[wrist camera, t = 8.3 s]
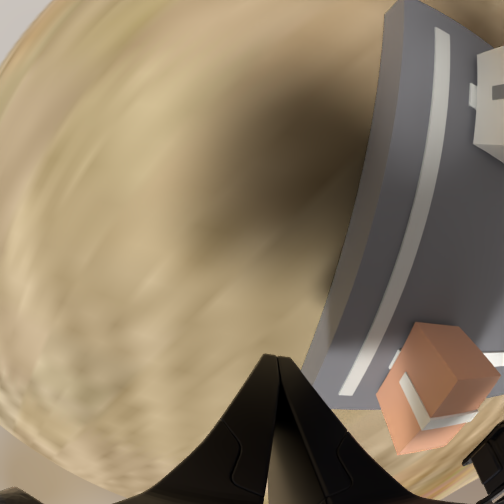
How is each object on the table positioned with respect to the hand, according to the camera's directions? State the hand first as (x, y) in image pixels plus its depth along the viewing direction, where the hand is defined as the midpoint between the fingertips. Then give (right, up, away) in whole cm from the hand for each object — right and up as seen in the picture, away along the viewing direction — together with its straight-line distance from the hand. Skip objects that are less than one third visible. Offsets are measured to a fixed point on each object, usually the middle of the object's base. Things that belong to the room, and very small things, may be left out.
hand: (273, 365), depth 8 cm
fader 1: (+6, -1, +1) cm, 6 cm away
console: (+12, +3, +1) cm, 12 cm away
